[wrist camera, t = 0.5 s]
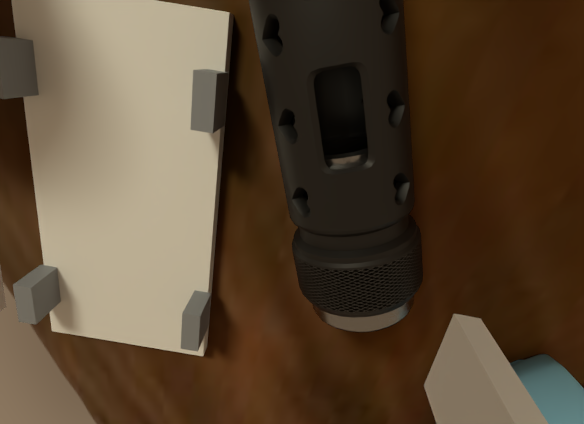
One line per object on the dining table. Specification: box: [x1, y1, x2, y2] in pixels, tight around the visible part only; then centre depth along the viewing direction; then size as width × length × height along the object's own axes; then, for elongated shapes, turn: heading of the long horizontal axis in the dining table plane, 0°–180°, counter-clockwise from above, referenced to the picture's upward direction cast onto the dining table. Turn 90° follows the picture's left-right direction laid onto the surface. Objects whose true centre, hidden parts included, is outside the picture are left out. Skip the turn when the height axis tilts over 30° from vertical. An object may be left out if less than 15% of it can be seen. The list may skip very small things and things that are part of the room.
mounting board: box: [0, 0, 234, 356], centre depth 31 cm, size 32×17×5 cm, turn 171°
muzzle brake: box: [249, 0, 423, 332], centre depth 25 cm, size 10×28×10 cm, turn 10°
